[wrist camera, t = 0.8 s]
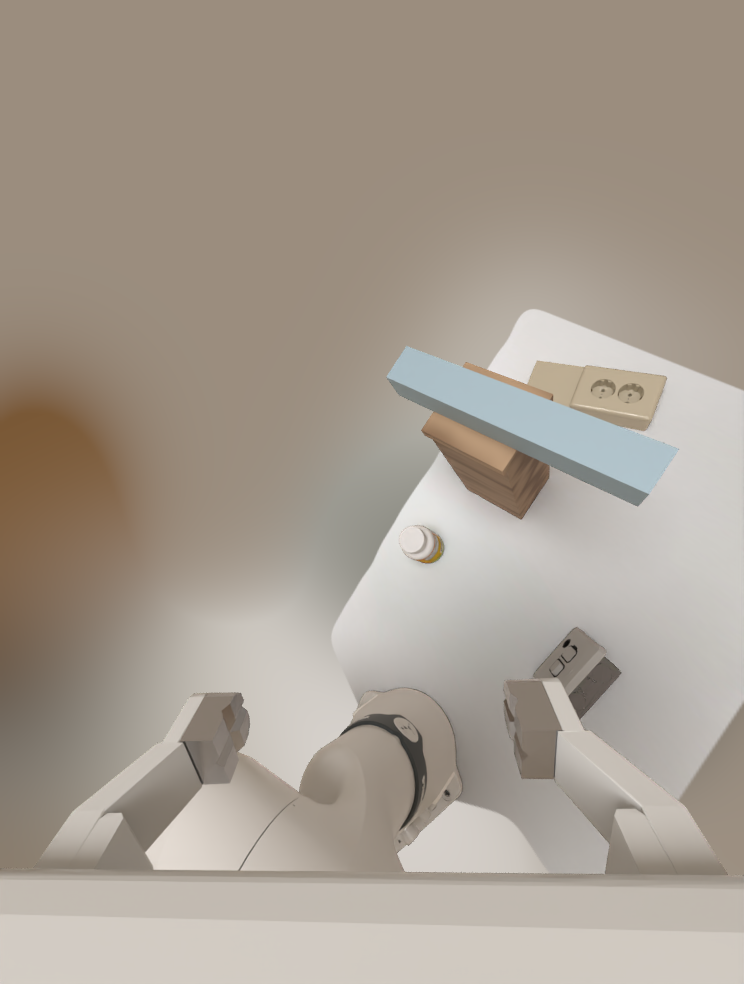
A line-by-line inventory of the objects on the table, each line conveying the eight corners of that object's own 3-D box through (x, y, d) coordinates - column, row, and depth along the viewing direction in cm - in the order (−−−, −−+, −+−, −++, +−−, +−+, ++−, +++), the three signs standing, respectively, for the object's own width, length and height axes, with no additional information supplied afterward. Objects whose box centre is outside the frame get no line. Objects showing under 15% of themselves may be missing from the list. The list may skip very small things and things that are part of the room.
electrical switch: (575, 625, 53) (587, 635, 44) (610, 653, 51) (630, 669, 42) (531, 674, 53) (535, 693, 45) (564, 704, 51) (574, 730, 43)
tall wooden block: (519, 522, 59) (502, 471, 37) (465, 491, 64) (421, 430, 41) (550, 474, 59) (553, 394, 36) (494, 447, 64) (465, 362, 41)
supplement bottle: (407, 547, 66) (387, 539, 57) (429, 525, 65) (411, 514, 57) (428, 570, 63) (410, 565, 55) (451, 547, 63) (436, 539, 54)
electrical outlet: (536, 357, 61) (668, 375, 53) (537, 370, 65) (660, 389, 56) (521, 396, 61) (651, 420, 52) (522, 407, 64) (644, 432, 56)
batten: (637, 506, 31) (649, 494, 28) (399, 395, 44) (386, 377, 40) (664, 466, 31) (679, 448, 28) (417, 366, 44) (406, 346, 40)
